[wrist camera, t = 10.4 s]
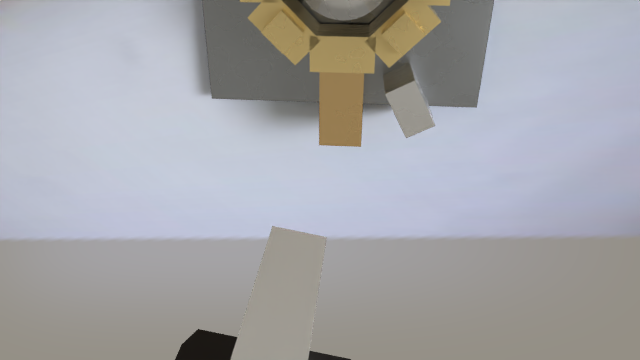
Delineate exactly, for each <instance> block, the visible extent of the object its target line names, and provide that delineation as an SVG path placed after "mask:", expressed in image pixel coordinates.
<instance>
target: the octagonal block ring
mask: <svg viewBox="0 0 640 360" xmlns="http://www.w3.org/2000/svg"><path fill="white" fill-rule="evenodd" d="M240 2H261V3H260V5H259V6H258V7H257V8H256V9H255V10H254V11H253V12H252V13H251V14H250V15H249V17H248V19H249V20H250V21H251V22H252V23H253V24H254V25H255V26H256V27H257V28H258V29H259V30H260V31H261V33H262V34H263V35H264V36H265V37H266V38H267V39H268V40H269V41H270V42H271V43H272V44H273V45H274V46H275V47H276V48H277V49H278V50H279V51H280V52H281V53H282V54H284V55H285V56H286V57H287V58H288V59H289V60H290V61H291V62H292V63H293V64H294V65H296V64H297V63H298V62H299V61H300V60H301V59H302V58H303V57H304V56H305V55H306V54H307V53H308V52H309V51H310V72H320V75H319V145H331V146H359V147H361V133H362V112H363V90H364V73H372V74H374V67H375V53H376V54H377V55H378V56H379V57H380V59H381V60H382V61H383V62H384V63H385V64H386V65H387V66H388V67H389V68H390V67H391V66H392V65H393V64H394V63H395V62H397V61H398V60H399V59H400V58H401V57H402V56H403V55H404V54H406V53H407V52H408V51H409V50H410V49H411V48H412V47H413V46H415V45H416V44H417V43H418V42H419V41H420V40H421V39H422V38H424V37H425V36H426V35H427V34H428V33H429V32H430V31H431V30H433V29H434V28H435V27H436V26H437V25H438V24H439V23H440V22H441V20H440V19H439V17H438V15H437V14H436V12H435V10H434V9H433V8H432V7H431V6H430V5H436V6H450V0H395V1H394V2H393V3H392V4H391V5H390V6H389V7H387V8H386V9H385V10H384V11H383V12H382V13H381V14H380V15H379V16H378V17H377V18H376V19H375V20H374V21H373V22H372V23H371V24H370V25H348V24H320V23H319V22H318V21H317V20H316V19H315V18H314V17H313V16H312V15H311V14H310V13H309V12H308V11H307V10H306V9H305V7H304V6H303V5H302V4H301V3H300V2H299V1H298V0H240Z"/></svg>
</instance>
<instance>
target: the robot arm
mask: <svg viewBox="0 0 640 360" xmlns="http://www.w3.org/2000/svg"><path fill="white" fill-rule="evenodd" d="M326 238H327V237H323V236H318V235H313V234H308V233H303V232H298V231H294V230H289V229H284V228H279V227H274V226H272V229H271V233H270V236H269V239H268V242H267V245H266V248H265V252H264V255H263V258H262V261H261V264H260V267H259V271H258V274H257V277H256V280H255V283H254V286H253V290H252V293H251V296H250V299H249V302H248V306H247V309H246V312H245V315H244V318H243V322H242V325H241V328H240V331H239V334H238V337H234V336H228V335H224V334H219V333H214V332H209V331H205V330H199V329H198V330H197V331H196V332H195V333H194V334H192V336H190V337H189V338H188V339H187V340H186V341H185V342H184V343H183V344H182V345H181V347H180V350H179V352H178V354H177V357H176V359H175V360H351V359H347V358H342V357H337V356H332V355H328V354H322V353H318V352H313V351H310V345H311V338H312V331H313V324H314V318H315V311H316V304H317V297H318V291H319V285H320V278H321V271H322V265H323V258H324V251H325V245H326Z"/></svg>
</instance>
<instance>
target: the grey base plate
mask: <svg viewBox="0 0 640 360" xmlns="http://www.w3.org/2000/svg"><path fill="white" fill-rule="evenodd" d="M298 1H299V2H300V3H301V4H302V5H303V6H304V7H305V9H306V10H307V11H308V12H309V13H310V14H311V15H312V16H313V17H314V18H315V19H316V20H317V21H318V22H319V23H320V24H348V25H370V24H371V23H372V22H373V21H374V20H375V19H376V18H377V17H378V16H379V15H380V14H381V13H382V12H383V11H384V10H385V9H386V8H387V7H389V6H390V5H391V4H392V3H393V2H394V1H395V0H298ZM202 2H203V12H204V23H205V33H206V43H207V53H208V64H209V74H210V84H211V94H212V98H214V99H243V100H273V101H302V102H319V75H320V72H310V51H309V52H308V53H307V54H306V55H305V56H304V57H303V58H302V59H301V60H300V61H299V62H298V63H297V64H296V65H294V64H293V63H292V62H291V61H290V60H289V59H288V58H287V57H286V56H285V55H284V54H282V53H281V52H280V51H279V50H278V49H277V48H276V47H275V46H274V45H273V44H272V43H271V42H270V41H269V40H268V39H267V38H266V37H265V36H264V35H263V34H262V33H261V31H260V30H259V29H258V28H257V27H256V26H255V25H254V24H253V23H252V22H251V21H250V20H249V19H248V17H249V15H250V14H251V13H252V12H253V11H254V10H255V9H256V8H257V7H258V6H259V5H260V3H261V2H240V0H202ZM493 4H494V0H450V6H436V5H430V6H431V7H432V8H433V9H434V10H435V12H436V14H437V15H438V17H439V19H440V20H441V22H440V23H439V24H438V25H437V26H436V27H435V28H434V29H433V30H431V31H430V32H429V33H428V34H427V35H426V36H425V37H424V38H422V39H421V40H420V41H419V42H418V43H417V44H416V45H415V46H413V47H412V48H411V49H410V50H409V51H408V52H407V53H406V54H404V55H403V56H402V57H401V58H400V59H399V60H398V61H397V62H395V63H394V64H393V65H392V66H391V67H390V68H389V67H388V66H387V65H386V64H385V63H384V62H383V61H382V60H381V59H380V57H379V56H378V55H377V54H376V53H375V67H374V74H372V73H364V90H363V104H390V106H391V108H392V110H393V112H394V114H395V116H396V118H397V120H398V122H399V124H400V126H401V129H402V131H403V133H404V135H405V137H406V138H408V137H410V136H412V135H415V134H417V133H419V132H422V131H424V130H426V129H429V128H431V127H434V126H435V123H434V120H433V117H432V114H431V110H430V107H429V106H450V107H477V102H478V96H479V90H480V84H481V78H482V71H483V65H484V59H485V53H486V47H487V41H488V34H489V28H490V22H491V16H492V10H493Z"/></svg>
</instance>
